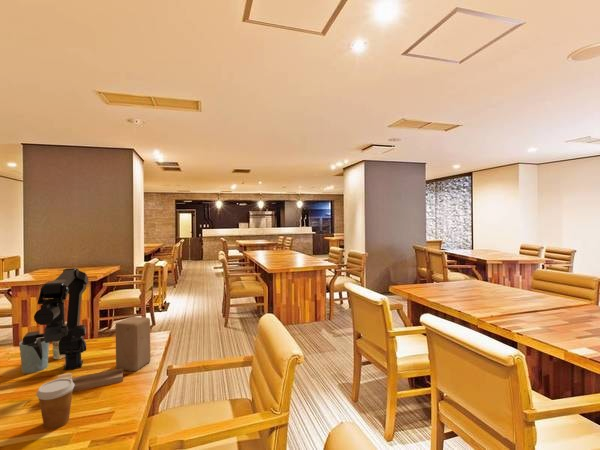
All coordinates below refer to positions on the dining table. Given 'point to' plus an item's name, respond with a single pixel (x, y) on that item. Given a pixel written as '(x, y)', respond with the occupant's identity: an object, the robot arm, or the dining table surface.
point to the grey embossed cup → (33, 357)
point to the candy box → (57, 349)
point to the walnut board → (97, 379)
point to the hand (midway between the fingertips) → (56, 356)
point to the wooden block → (132, 343)
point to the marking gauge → (65, 376)
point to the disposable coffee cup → (55, 402)
